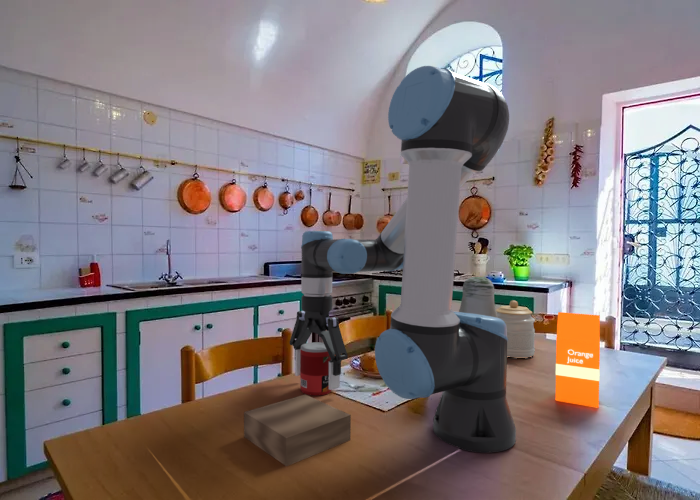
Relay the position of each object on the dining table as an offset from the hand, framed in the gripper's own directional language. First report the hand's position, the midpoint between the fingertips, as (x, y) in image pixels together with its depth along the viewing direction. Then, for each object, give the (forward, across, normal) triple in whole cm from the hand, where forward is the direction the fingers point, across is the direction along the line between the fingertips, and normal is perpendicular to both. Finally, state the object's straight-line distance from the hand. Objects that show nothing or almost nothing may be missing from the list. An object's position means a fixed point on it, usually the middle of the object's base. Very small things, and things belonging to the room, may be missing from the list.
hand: (316, 381), depth 104 cm
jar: (+2, -14, -70) cm, 71 cm away
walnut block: (+3, -18, +18) cm, 26 cm away
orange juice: (+2, -44, -43) cm, 62 cm away
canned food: (+2, 0, 0) cm, 3 cm away
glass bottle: (+2, -26, -30) cm, 39 cm away
